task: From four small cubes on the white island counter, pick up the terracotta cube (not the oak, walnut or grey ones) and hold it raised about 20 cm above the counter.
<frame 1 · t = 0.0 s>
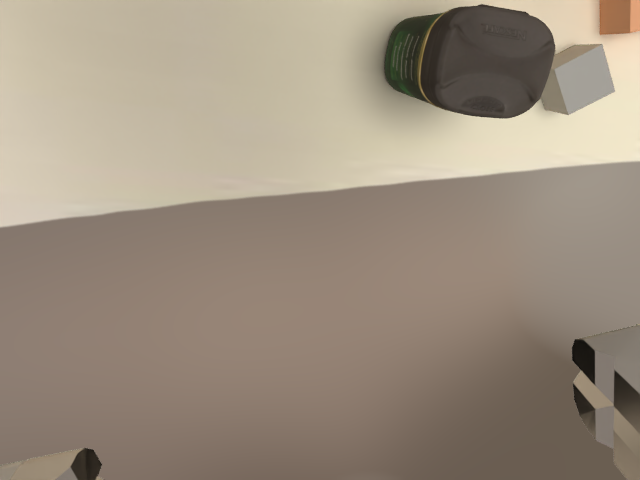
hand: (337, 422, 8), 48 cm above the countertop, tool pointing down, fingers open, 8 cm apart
terracotta cube: (622, 3, 51), on the countertop
grey cube: (559, 77, 53), on the countertop
coffee jar: (428, 60, 52), on the countertop
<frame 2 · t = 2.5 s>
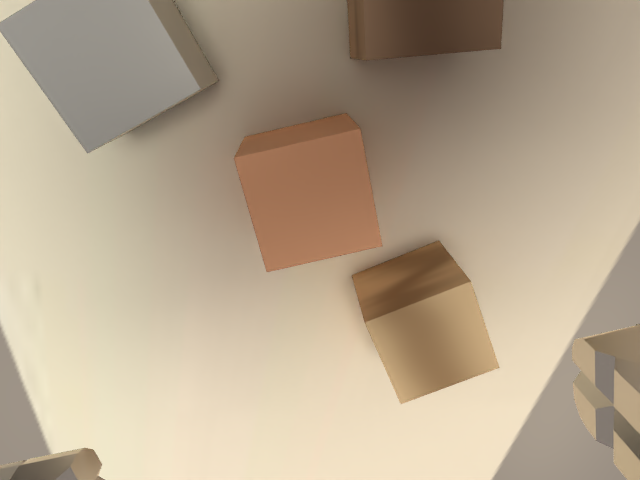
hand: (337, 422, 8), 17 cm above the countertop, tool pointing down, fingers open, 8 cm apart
terracotta cube: (306, 174, 24), on the countertop
grey cube: (141, 56, 22), on the countertop
oak cube: (409, 295, 27), on the countertop
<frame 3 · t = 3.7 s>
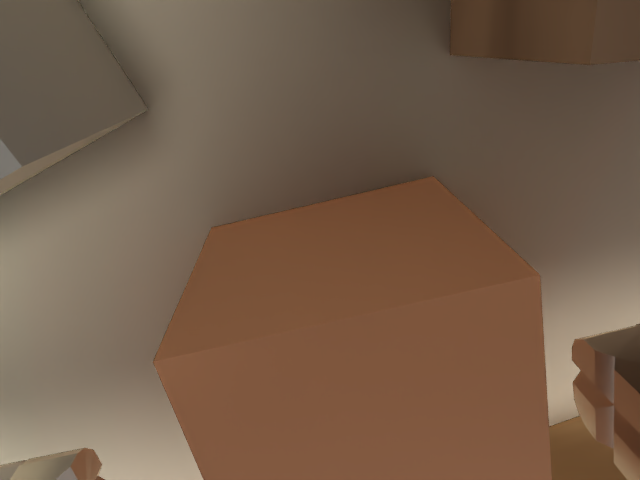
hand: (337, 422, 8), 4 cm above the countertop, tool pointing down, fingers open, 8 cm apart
terracotta cube: (344, 297, 12), on the countertop
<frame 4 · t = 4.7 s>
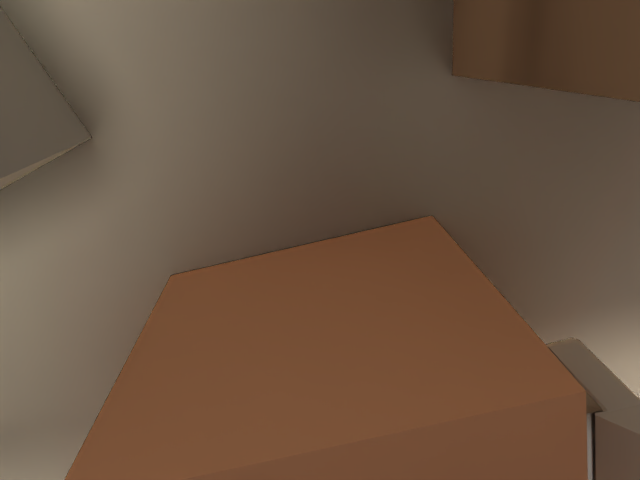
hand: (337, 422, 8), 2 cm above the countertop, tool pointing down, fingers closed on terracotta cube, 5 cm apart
terracotta cube: (328, 355, 10), on the countertop, touching gripper
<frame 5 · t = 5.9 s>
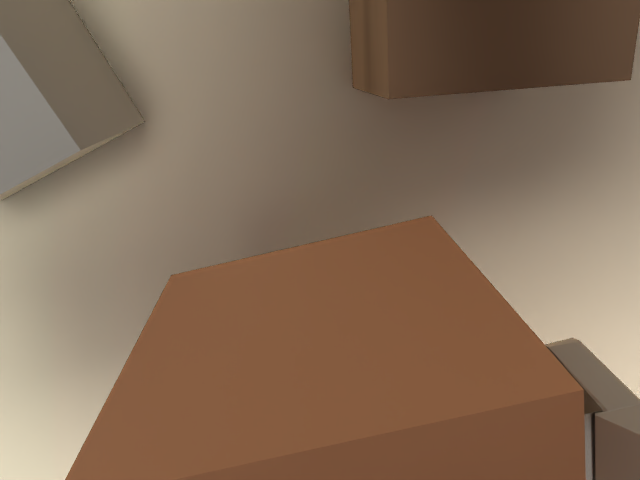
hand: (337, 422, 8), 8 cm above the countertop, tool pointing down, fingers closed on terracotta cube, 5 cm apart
terracotta cube: (328, 354, 10), point 6 cm above the countertop, touching gripper
grey cube: (17, 82, 14), on the countertop
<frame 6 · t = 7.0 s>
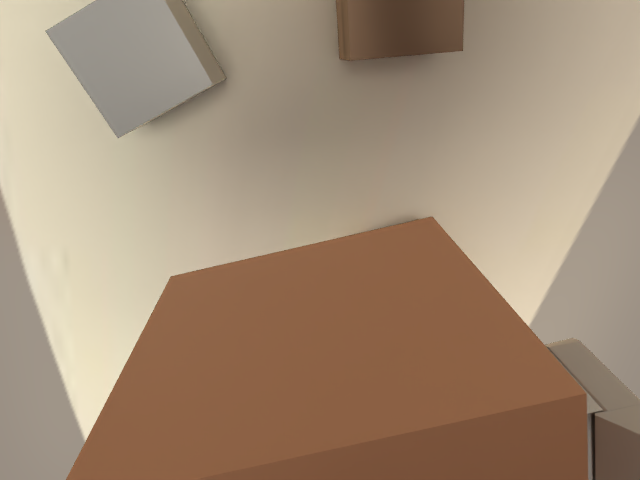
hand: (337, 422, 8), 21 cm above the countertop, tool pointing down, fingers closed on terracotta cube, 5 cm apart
walnut cube: (384, 3, 25), on the countertop
terracotta cube: (328, 356, 10), point 19 cm above the countertop, touching gripper
grey cube: (160, 57, 25), on the countertop
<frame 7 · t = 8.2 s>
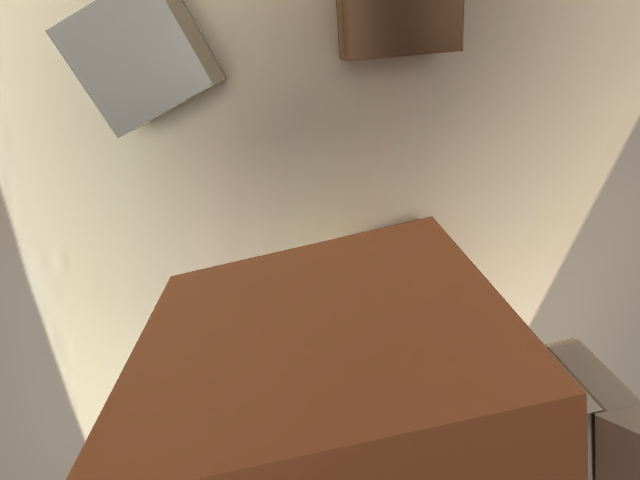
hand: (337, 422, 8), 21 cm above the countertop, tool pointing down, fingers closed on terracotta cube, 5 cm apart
walnut cube: (384, 3, 25), on the countertop
terracotta cube: (328, 356, 10), point 19 cm above the countertop, touching gripper
grey cube: (160, 57, 25), on the countertop
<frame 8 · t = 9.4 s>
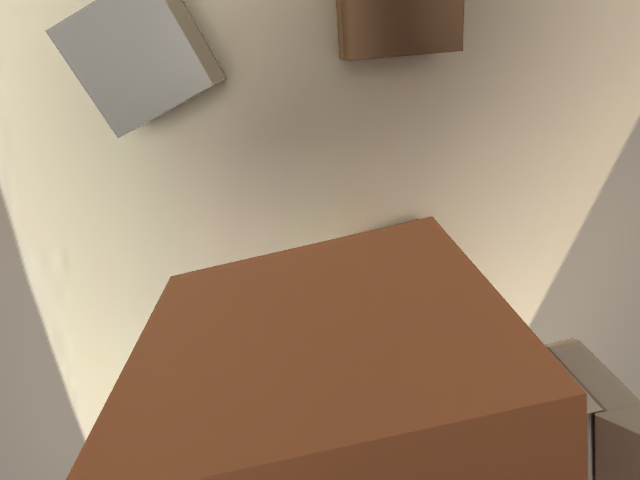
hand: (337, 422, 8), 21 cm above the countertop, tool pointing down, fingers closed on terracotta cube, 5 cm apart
walnut cube: (384, 3, 25), on the countertop
terracotta cube: (328, 356, 10), point 19 cm above the countertop, touching gripper
grey cube: (160, 57, 25), on the countertop
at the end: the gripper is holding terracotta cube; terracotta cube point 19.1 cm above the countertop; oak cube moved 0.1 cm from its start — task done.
